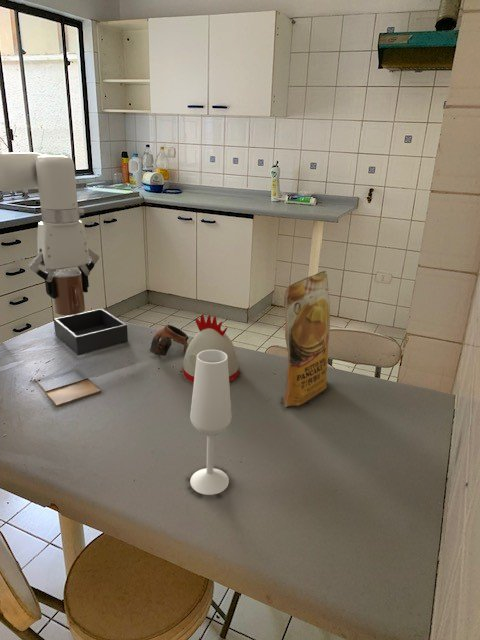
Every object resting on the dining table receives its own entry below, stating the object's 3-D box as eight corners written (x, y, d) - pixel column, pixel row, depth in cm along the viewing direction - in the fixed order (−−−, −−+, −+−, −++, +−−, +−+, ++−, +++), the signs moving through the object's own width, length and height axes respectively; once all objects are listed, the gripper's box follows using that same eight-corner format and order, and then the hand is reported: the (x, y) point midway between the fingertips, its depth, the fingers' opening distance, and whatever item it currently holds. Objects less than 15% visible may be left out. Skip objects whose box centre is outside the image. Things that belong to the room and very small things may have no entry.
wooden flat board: (34, 380, 108) (33, 378, 108) (75, 368, 115) (75, 366, 114) (56, 407, 99) (56, 405, 99) (100, 392, 105) (100, 390, 105)
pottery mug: (151, 345, 130) (165, 320, 129) (180, 362, 130) (195, 337, 129) (139, 353, 118) (155, 325, 117) (171, 372, 118) (187, 344, 117)
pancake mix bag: (265, 402, 104) (274, 283, 93) (313, 374, 117) (326, 267, 107) (289, 414, 100) (301, 291, 89) (336, 384, 113) (351, 273, 102)
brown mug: (50, 309, 109) (46, 272, 105) (77, 303, 113) (74, 267, 109) (66, 320, 103) (61, 281, 99) (94, 314, 107) (90, 276, 103)
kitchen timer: (198, 354, 124) (198, 302, 119) (246, 365, 120) (248, 311, 114) (173, 378, 112) (172, 320, 107) (225, 390, 108) (227, 331, 102)
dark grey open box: (55, 337, 131) (53, 318, 128) (103, 326, 139) (102, 308, 137) (78, 357, 120) (75, 337, 118) (128, 344, 129) (127, 324, 127)
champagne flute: (212, 462, 84) (215, 343, 75) (237, 482, 80) (243, 358, 71) (182, 479, 80) (181, 354, 71) (206, 501, 75) (208, 371, 66)
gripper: (90, 210, 108) (96, 283, 115) (12, 216, 97) (23, 296, 104) (105, 215, 103) (110, 291, 110) (25, 222, 92) (36, 306, 99)
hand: (68, 293), depth 107 cm, fingers closed on brown mug, 6 cm apart
